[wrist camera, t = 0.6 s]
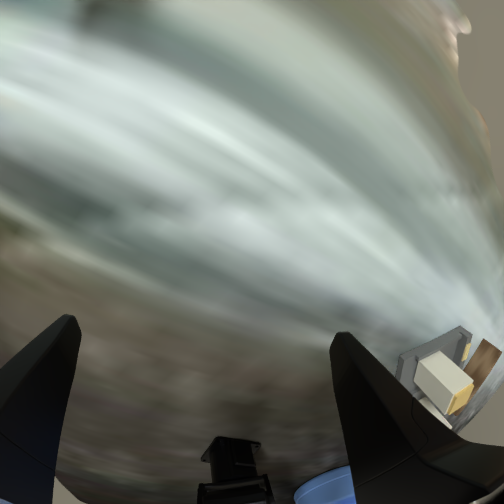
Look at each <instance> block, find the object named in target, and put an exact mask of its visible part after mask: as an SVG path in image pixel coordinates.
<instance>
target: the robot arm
mask: <svg viewBox="0 0 504 504" xmlns="http://www.w3.org/2000/svg"><path fill="white" fill-rule="evenodd" d="M81 336H82V335H81V330H80V327H79V325H78V322H77V320H76V318H75V316H73V315H68V314H64V315H62V316H61V317H60V318H58V319H57V320H56V321H55V322H54V323H52V324H51V325H50V326H49V327H48V328H46V329H45V330H44V331H43V332H42V333H40V334H39V335H38V336H37V337H36V338H34V339H33V340H32V341H31V342H30V343H29V344H27V345H26V346H25V347H24V348H23V349H22V350H21V351H19V352H18V353H17V354H16V355H15V356H14V357H13V358H12V359H10V360H9V361H8V362H7V363H6V364H5V365H4V366H3V367H2V368H1V369H0V504H52V498H53V487H54V477H55V468H56V460H57V454H58V447H59V441H60V436H61V431H62V425H63V421H64V416H65V411H66V407H67V402H68V398H69V394H70V390H71V386H72V382H73V379H74V374H75V369H76V364H77V358H78V352H79V347H80V342H81ZM329 353H330V361H331V370H332V379H333V387H334V393H335V398H336V402H337V407H338V411H339V416H340V421H341V425H342V430H343V435H344V440H345V445H346V450H347V455H348V460H349V465H350V470H351V476H352V481H353V487H354V493H355V499H356V504H504V447H502V446H494V445H486V444H479V443H473V442H469V441H466V440H464V439H463V438H461V437H460V436H458V435H457V434H456V433H455V432H453V431H452V430H451V429H450V428H449V427H447V426H446V425H445V424H444V423H442V422H441V421H440V420H439V419H438V418H436V417H435V416H434V415H433V414H432V413H431V412H430V411H428V410H427V409H426V408H425V407H424V406H423V405H422V404H421V403H420V402H419V401H418V400H417V399H416V398H415V397H413V395H412V394H411V393H410V392H409V391H408V390H407V389H406V388H405V387H404V386H403V385H402V384H401V383H400V382H399V381H398V380H397V379H396V378H395V377H394V376H393V375H392V374H391V373H390V372H389V371H388V370H387V369H386V368H385V367H384V366H383V365H382V364H381V363H380V362H379V361H378V360H377V359H376V358H375V357H374V356H373V355H372V354H371V353H370V352H369V351H368V350H367V349H366V348H365V347H364V346H363V345H362V344H361V343H360V342H359V341H358V340H357V339H356V338H355V337H354V336H353V335H352V334H351V333H350V332H348V331H343V332H337V333H336V335H335V337H334V339H333V341H332V344H331V346H330V350H329ZM259 448H260V443H257V442H250V441H243V440H236V439H230V438H224V437H216V438H215V439H214V440H213V442H212V443H211V444H210V446H209V447H208V449H207V450H206V451H205V453H204V454H203V455H202V457H201V461H202V462H207V463H210V466H211V475H212V483H207V484H203V483H200V484H199V488H198V496H197V504H275V500H274V497H273V493H272V490H271V486H270V483H269V480H268V476H267V474H263V475H262V476H258V475H257V471H256V467H255V466H256V464H255V460H254V456H253V454H254V453H255V452H256V451H257V450H258V449H259Z"/></svg>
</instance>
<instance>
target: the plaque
mask: <svg viewBox="0 0 504 504" xmlns="http://www.w3.org/2000/svg"><path fill="white" fill-rule="evenodd" d="M501 354H502V352H501V351H500V350H499V349H497V348H496V347H495V346H493V345H492V344H491V343H489V342H488V341H487V340H485V339H483V340H482V342H481V343H480V345H479V347H478V348H477V350H476V352H475V353H474V355H473V356H472V358H471V360H470V361H469V363H468V364H467V366H466V367H465V369H464V370H463V371H464V372H465V373H466V374H467V375H468V376H469V377H470V378H472V379H473V380H474V381H473V383H472V384H473V385H474V388H473V390H472V392H471V394H470V397H469V399H468V401H467V403H468V402H469V401H470V400H471V398H472V397H473V396H474V394H475V393H476V391H477V390H478V389H479V387H480V386H481V384H482V383H483V382H484V380H485V379H486V377H487V376H488V374H489V373H490V371H491V370H492V368H493V367H494V365H495V363H496V362H497V360H498V359H499V357H500V355H501ZM467 403H466V404H465V405H463V406H462V407H460V408H459V409H458V410H456V411H455V412H453V414H454V415H455V416H457V415H459V413H460V412H461V411H462V410H463V409H464V407H465V406H466V405H467Z"/></svg>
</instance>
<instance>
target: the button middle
mask: <svg viewBox="0 0 504 504" xmlns="http://www.w3.org/2000/svg"><path fill="white" fill-rule="evenodd" d="M419 402H420V403H421V404H422V405H423V406H424V407H425V408H426V409H427V410H428V411H430V412H431V413H432V414H433V415H434V416H435V417H436V418H438V419H439V420H440V421H441V422H442V423H444V424H445V425H446V426H447V427H449V428H450V429H451V428H452V426H451V425H450V424H449V423H448V422H447V420H446V419H445V418H444V417H443V416H442V415H441V414H440V413H439V411H438V410H437V409H436V408H435V407H434V406H433V405H432V404H431V403H430V401H429V400H428V399H427V398H426V397H424V398H422V399H420V400H419Z"/></svg>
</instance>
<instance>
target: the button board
mask: <svg viewBox="0 0 504 504" xmlns="http://www.w3.org/2000/svg"><path fill="white" fill-rule="evenodd" d="M472 335H473V334H471V333H470V332H468V331H467V330H466V329H464V328H463V327H461V326H458V327H457V328H455V329H453V330H451V331H449V332H447V333H445V334H443V335H442V336H440V337H438V338H436V339H434V340H432V341H430V342H428V343H425V344H423V345H421V346H419V347H417V348H415V349H413V350H411V351H408V352H406V353H404V354H402V355H399V361H398V367H397V372H396V377H395V378H396V379H397V380H398V381H399V382H400V383H401V384H402V385H403V386H404V387H405V388H406V389H407V390H408V391H409V392H410V393H411V394H412V395H413V397H415V398H416V399H417V400H418V401H419V400H420V399H422V398H424V397H426V398H427V399H428V400H429V401H430V403H431V404H432V405H433V406H434V407H435V408H436V409H437V410H438V411H439V413H440V414H441V415H442V416H443V415H444V414H443V413H442V412H441V410H440V409H439V408H438V407H437V406H436V405H435V404H434V403H433V402H432V401H431V399H430V398H429V397H428V396H427V395H426V394H425V393H424V392H423V391H422V390H421V389H420V387H419V386H418V385H417V384H416V383H415V382H414V377H415V373H416V369H417V365H418V361H420V360H422V359H424V358H426V357H428V356H430V355H432V354H434V353H436V352H438V351H441V352H442V353H443V354H444V355H445V356H447V357H448V358H449V359H450V360H451V361H452V362H453V363H455V364H456V365H457V366H458V367H459V368H460V369H461V370H462V367H463V364H464V361H465V360H466V359H467V356H468V352H469V349H470V346H471V343H470V342H471V338H472Z"/></svg>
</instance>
